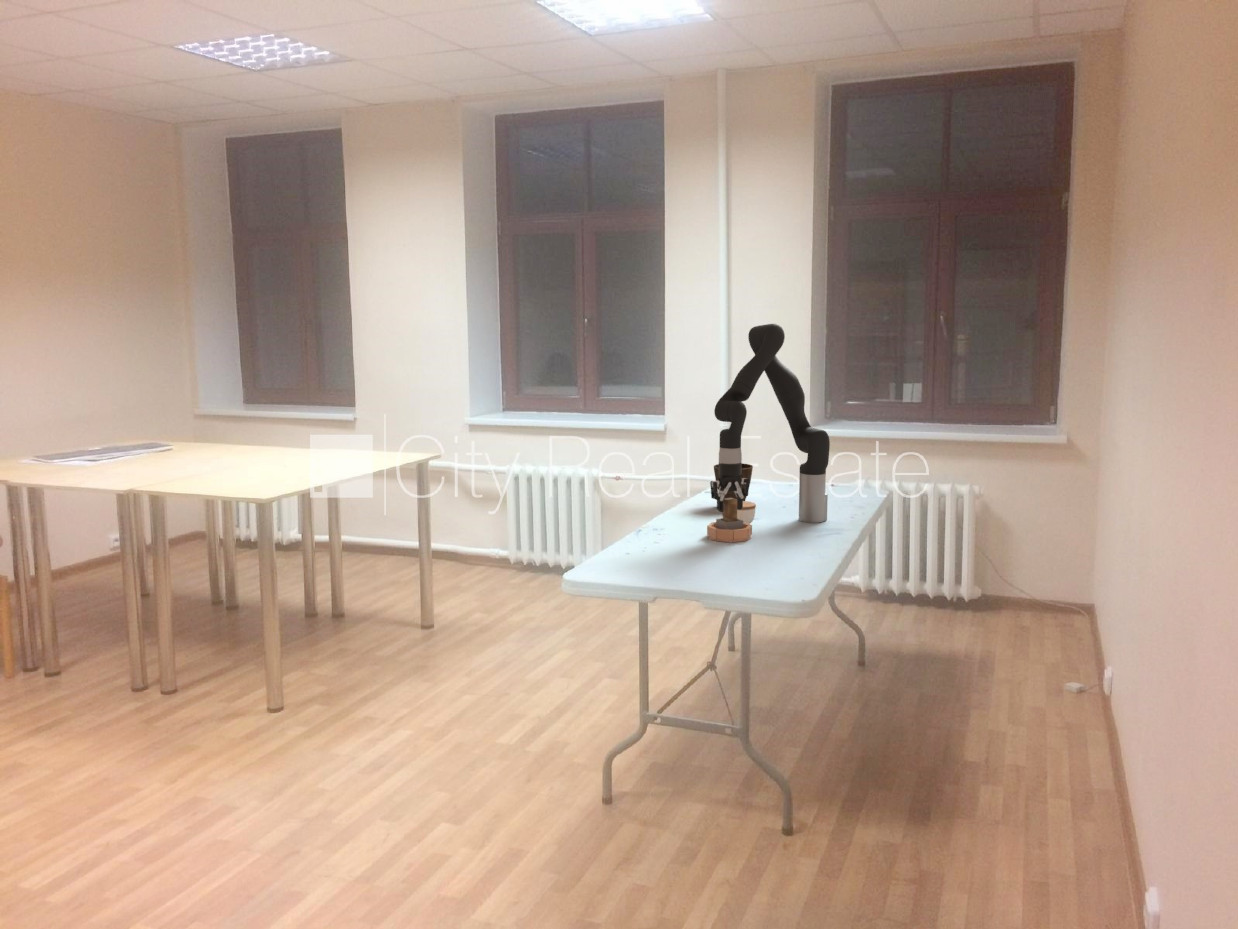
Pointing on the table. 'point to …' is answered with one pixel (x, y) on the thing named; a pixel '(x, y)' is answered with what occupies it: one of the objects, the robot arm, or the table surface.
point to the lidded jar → (747, 512)
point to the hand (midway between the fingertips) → (729, 510)
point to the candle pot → (729, 531)
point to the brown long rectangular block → (729, 509)
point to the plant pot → (745, 473)
